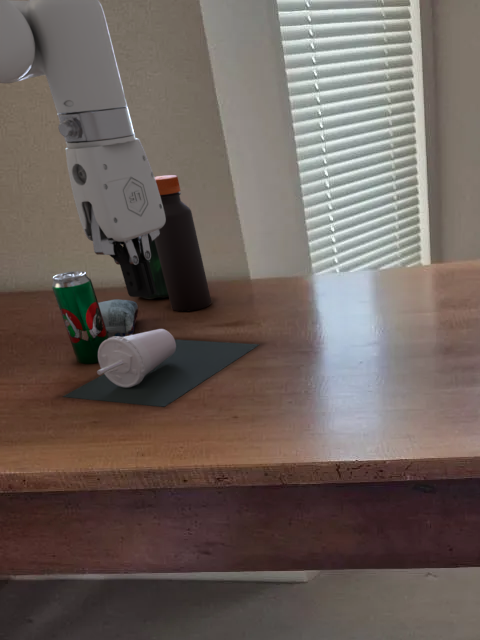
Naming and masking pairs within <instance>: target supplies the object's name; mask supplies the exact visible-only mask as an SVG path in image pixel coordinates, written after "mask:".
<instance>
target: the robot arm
mask: <svg viewBox="0 0 480 640" xmlns="http://www.w3.org/2000/svg"><path fill="white" fill-rule="evenodd" d="M42 76H45V77H46V81H47V85H48V87H49V91H50V93H51V94H50V95H51V98H52V101H53V104H54V108H55V110H56V114H57V118H58V121H59V124H58V132H59V134H60V135H61V136H63V138H64V142H65V145H66V148H65V161H66V166H67V172H68V177H69V182H70V187H71V188H70V189H71V193H72V196H73V200H74V205H75V209H76V212H77V215H78V219H79V222H80V225H81V228H82V230H83V232H84V233H83V234H84V235H85V236H86V238H87V239H88V240H89V241H91V242H92V245H93V252H94V253H95V255H98V256H110V257H111V258H112V259H113V260H114V263H115V264H116V265H119V266H120V270H121V274H122V276H123V280H124V284H125V288H126V292H127V294H128V296H129V297H133V298H143V297H149V296H151V295H153V294H155V293H156V292H157V291H156V287H155V283H154V279H153V276H152V272H151V268H150V264H149V261H147V260H150V258H151V252H150V246H151V242H152V241H153V240H154V239H155V238H156V237H158V236H159V234H160V231H159V229H160V228H162V227H163V226H164V224H165V222H166V218H165V213H164V208H163V205H162V201H161V197H160V194H159V190H158V187H157V184H156V180H155V177H156V176H155V175H154V171H153V168H152V166H151V163H150V160H149V158H148V155H147V152H146V151H145V148H144V146H143V144H142V142H141V140H140V138H137V137H136V134H135V132H134V127H133V123H132V119H131V115H130V111H129V107H128V103H127V99H126V95H125V91H124V87H123V82H122V79H121V75H120V70H119V67H118V62H117V59H116V55H115V50H114V46H113V43H112V38H111V34H110V31H109V26H108V21H107V18H106V15H105V12H104V8H103V5H102V3H101V2H100V0H0V84H14V83H18V82H22V81H25V80H28V79H32V78H36V77H42Z"/></svg>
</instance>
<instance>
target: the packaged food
mask: <svg viewBox="0 0 480 640" xmlns="http://www.w3.org/2000/svg"><path fill="white" fill-rule="evenodd" d="M98 304H99V307H100V310H101V314H102V317H103V320H104V323H105V327H106V330H107V333H108V336H109V338H110V337H113V336H120V337H125V336H130V335H134V331H135V327H136V326H135V325H136V322H137V319H138V315H139V306H138V303H137V302H136V301H134V300H129V299H118V298H115V299H109V300H104V301H100V302H98Z"/></svg>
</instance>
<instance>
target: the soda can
mask: <svg viewBox="0 0 480 640" xmlns="http://www.w3.org/2000/svg"><path fill="white" fill-rule="evenodd" d="M51 280H52V281H53V282H52V284H51V289H52V291H53V294H54V297H55V300H56V304H57V306H58V309H59V312H60V315H61V318H62V320H63V323H64V327H65V329H66V332H67V335H68V338H69V341H70V344H71V347H72V350H73V353H74V356H75V359H76V362H77V363H79V364H81V365H94V364H99V361H98V349H99V347H100V345H101V343H102V342H103V341H105V340H107V339H108V338H109V336H108V333H107V330H106V327H105V323H104V320H103V317H102V314H101V310H100V307H99V304H98V303H99V302H98V298H97V295H96V291H95V288H94V284H93V282H92V279H91V278H90V277H89V276H88V275H87V272H86V271H84V270H73V271H67V272H61V273H58V274H56V275H54V276H53V277H51Z"/></svg>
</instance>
